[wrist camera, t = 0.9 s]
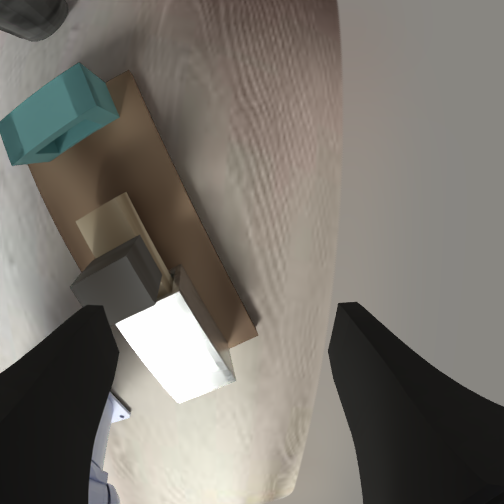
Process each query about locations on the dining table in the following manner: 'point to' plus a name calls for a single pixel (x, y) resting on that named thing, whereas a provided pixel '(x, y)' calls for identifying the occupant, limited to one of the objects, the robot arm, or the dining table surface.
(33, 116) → the socket
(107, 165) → the base board
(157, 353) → the sleeve
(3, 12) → the beverage cup
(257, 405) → the dining table surface
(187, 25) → the dining table surface
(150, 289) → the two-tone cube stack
